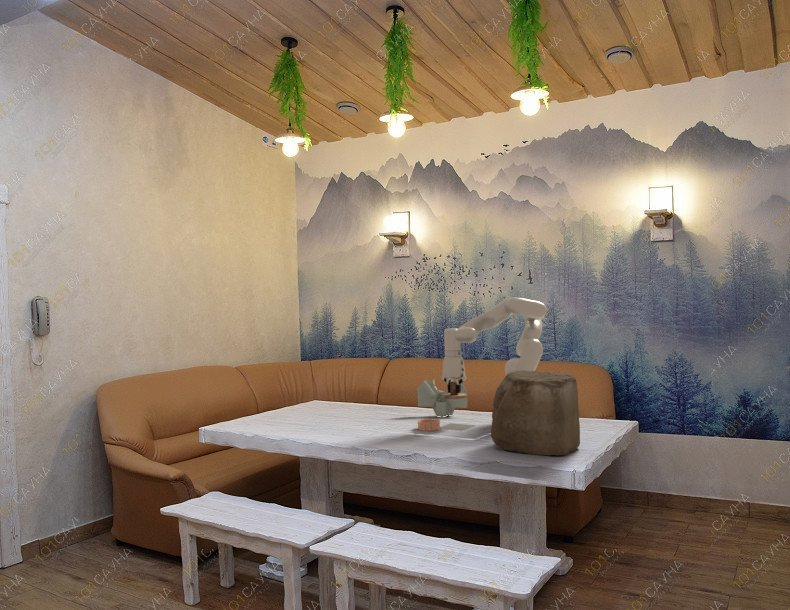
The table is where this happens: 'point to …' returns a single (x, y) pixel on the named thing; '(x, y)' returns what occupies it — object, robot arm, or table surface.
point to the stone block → (536, 413)
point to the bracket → (439, 399)
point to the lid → (454, 393)
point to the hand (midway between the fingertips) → (454, 392)
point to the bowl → (429, 424)
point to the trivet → (456, 426)
